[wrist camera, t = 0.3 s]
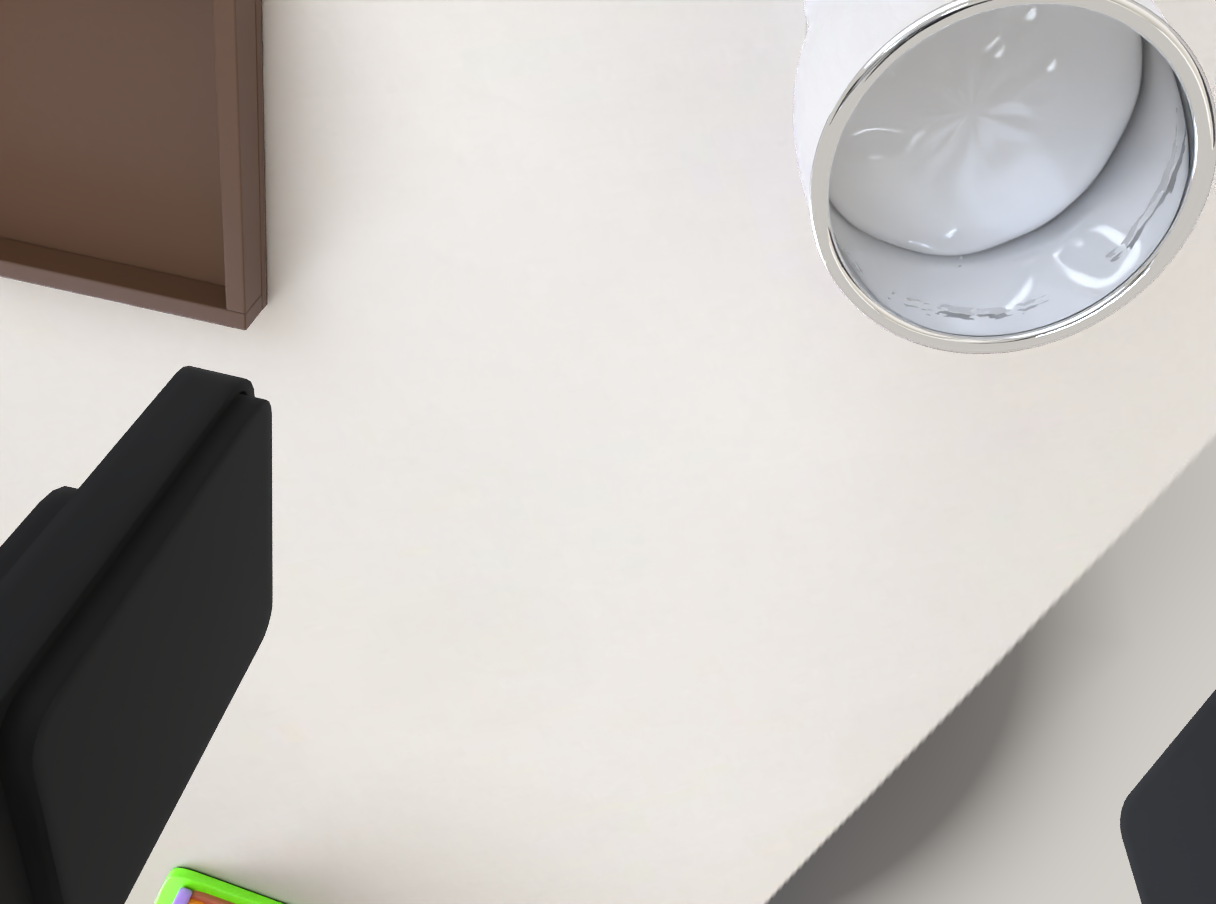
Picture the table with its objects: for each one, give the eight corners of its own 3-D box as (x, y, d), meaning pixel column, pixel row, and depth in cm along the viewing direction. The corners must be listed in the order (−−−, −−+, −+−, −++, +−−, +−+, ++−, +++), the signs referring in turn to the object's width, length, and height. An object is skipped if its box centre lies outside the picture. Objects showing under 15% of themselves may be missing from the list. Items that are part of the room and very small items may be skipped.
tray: (-150, -149, 31) (-200, -140, 30) (261, -58, 32) (233, -43, 30) (-65, 231, 39) (-101, 255, 37) (267, 304, 39) (245, 331, 37)
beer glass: (740, 30, 31) (721, 252, 19) (885, -216, 27) (973, -127, 15) (935, 147, 33) (1030, 424, 21) (1100, -72, 29) (1336, 114, 17)
